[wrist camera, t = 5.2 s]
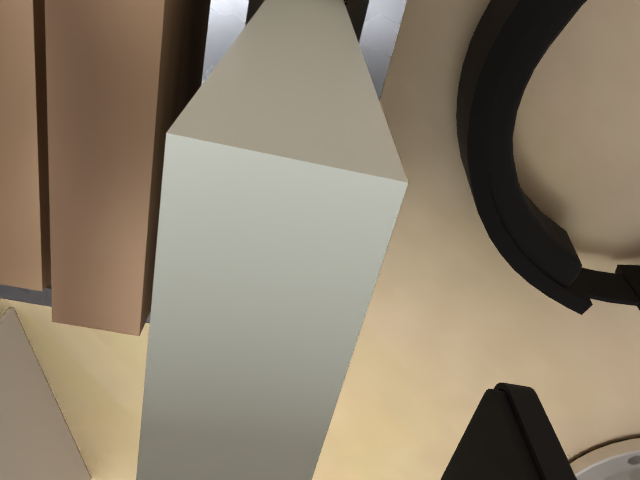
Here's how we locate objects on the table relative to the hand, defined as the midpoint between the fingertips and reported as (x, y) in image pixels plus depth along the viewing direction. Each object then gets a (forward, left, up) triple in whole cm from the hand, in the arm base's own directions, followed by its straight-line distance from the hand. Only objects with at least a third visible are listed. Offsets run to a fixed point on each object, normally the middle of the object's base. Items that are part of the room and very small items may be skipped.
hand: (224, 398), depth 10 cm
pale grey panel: (0, 0, -17) cm, 17 cm away
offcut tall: (+5, 0, -17) cm, 18 cm away
